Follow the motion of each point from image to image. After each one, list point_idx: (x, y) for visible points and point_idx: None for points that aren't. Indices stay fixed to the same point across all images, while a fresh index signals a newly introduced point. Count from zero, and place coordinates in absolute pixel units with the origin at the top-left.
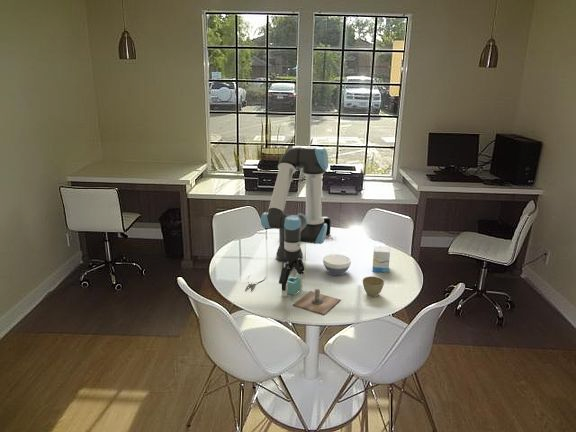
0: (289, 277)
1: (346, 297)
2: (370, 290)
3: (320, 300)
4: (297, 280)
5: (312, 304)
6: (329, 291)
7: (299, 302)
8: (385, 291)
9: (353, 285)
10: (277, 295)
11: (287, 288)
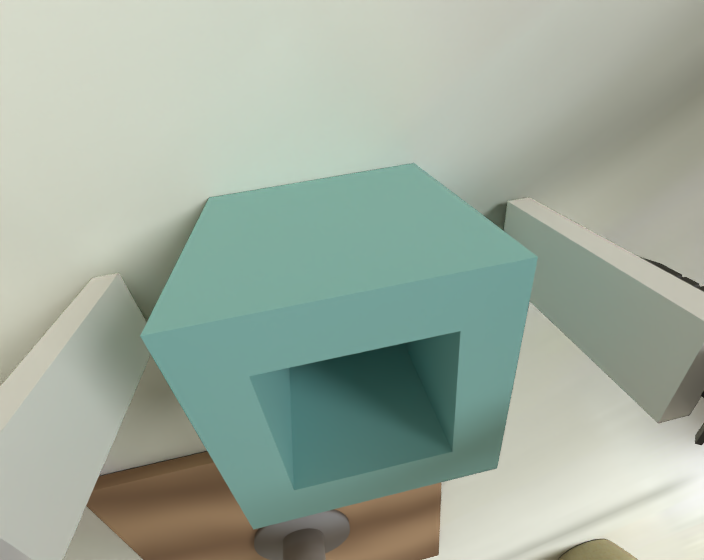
0: (450, 304)
1: (493, 534)
2: None
3: (332, 539)
4: (410, 480)
5: (239, 544)
6: (529, 456)
7: (165, 497)
8: (635, 552)
9: (674, 470)
10: (34, 212)
11: (105, 455)
